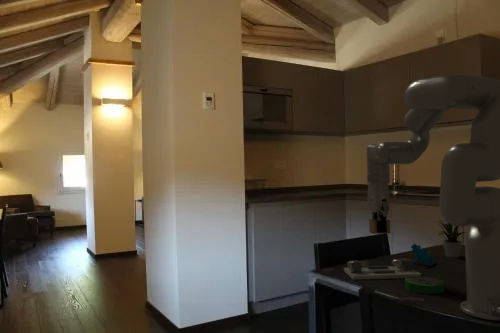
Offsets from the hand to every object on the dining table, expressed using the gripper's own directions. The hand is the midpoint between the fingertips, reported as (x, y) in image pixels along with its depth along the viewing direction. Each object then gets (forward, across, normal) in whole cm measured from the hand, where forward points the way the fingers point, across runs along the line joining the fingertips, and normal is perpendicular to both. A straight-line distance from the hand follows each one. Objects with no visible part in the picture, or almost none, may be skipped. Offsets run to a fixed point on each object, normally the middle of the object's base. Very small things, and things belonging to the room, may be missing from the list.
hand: (379, 231), depth 141 cm
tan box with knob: (+1, 0, 0) cm, 1 cm away
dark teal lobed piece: (+15, -12, +21) cm, 29 cm away
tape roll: (+15, +18, +7) cm, 25 cm away
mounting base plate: (+15, 0, 0) cm, 15 cm away
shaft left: (+14, 0, -8) cm, 16 cm away
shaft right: (+14, -1, +8) cm, 16 cm away
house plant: (+15, -26, +38) cm, 49 cm away
